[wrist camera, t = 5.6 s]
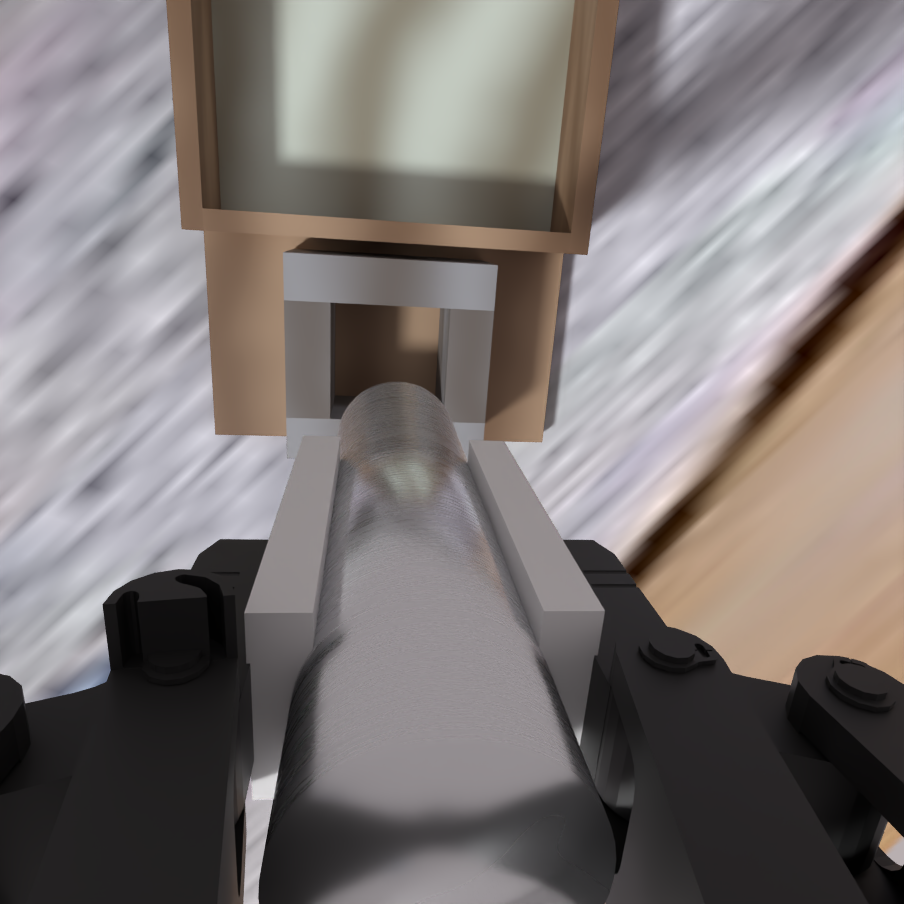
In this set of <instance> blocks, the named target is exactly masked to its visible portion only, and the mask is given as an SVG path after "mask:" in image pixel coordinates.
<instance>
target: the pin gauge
mask: <svg viewBox="0 0 904 904" xmlns="http://www.w3.org/2000/svg"><path fill="white" fill-rule="evenodd" d="M337 437H340V464H339V471H338V478H337V485H336V491H335V498H334V505H333V512H332V519H331V526H330V533H329V540H328V547H327V554H326V561H325V568H324V575H323V582H322V589H321V596H320V603H319V610H318V617H317V624H316V631H315V638H314V645H313V650H312V651H311V652H310V654H309V655H308V656H307V658H306V660H305V662H304V663H303V665H302V667H301V668H300V671H299V673H298V676H297V678H296V681H295V684H294V688H293V692H292V697H291V702H290V708H289V714H288V719H287V725H286V731H285V736H284V742H283V748H282V753H281V759H280V765H279V770H278V776H277V782H276V788H275V793H274V799H273V805H272V810H271V816H270V822H269V827H268V833H267V839H266V844H265V850H264V856H263V862H262V867H261V873H260V879H259V896H258V898H259V904H605V902H606V900H607V898H608V896H609V893H610V890H611V887H612V883H613V879H614V875H615V866H616V847H615V840H614V836H613V832H612V828H611V825H610V822H609V820H608V817H607V815H606V812H605V810H604V807H603V804H602V802H601V799H600V797H599V794H598V792H597V789H596V787H595V784H594V782H593V779H592V776H591V774H590V771H589V769H588V766H587V764H586V761H585V759H584V756H583V754H582V751H581V748H580V746H579V743H578V741H577V738H576V736H575V733H574V731H573V728H572V726H571V723H570V720H569V718H568V715H567V713H566V710H565V708H564V705H563V703H562V700H561V698H560V695H559V692H558V690H557V687H556V685H555V682H554V680H553V677H552V675H551V672H550V670H549V667H548V664H547V662H546V660H545V658H544V655H543V653H542V651H541V650H540V648H539V646H538V643H537V641H536V638H535V635H534V633H533V630H532V628H531V625H530V623H529V620H528V617H527V615H526V612H525V610H524V607H523V604H522V602H521V599H520V597H519V594H518V592H517V589H516V586H515V584H514V581H513V579H512V576H511V574H510V571H509V568H508V566H507V563H506V561H505V558H504V556H503V553H502V550H501V548H500V545H499V543H498V540H497V538H496V535H495V532H494V530H493V527H492V525H491V522H490V520H489V517H488V514H487V512H486V509H485V507H484V504H483V502H482V499H481V496H480V494H479V491H478V489H477V486H476V484H475V481H474V478H473V476H472V473H471V471H470V468H469V466H468V461H467V458H466V456H465V453H464V451H463V448H462V445H461V443H460V440H459V438H458V435H457V433H456V430H455V428H454V425H453V423H452V420H451V418H450V415H449V413H448V411H447V409H446V408H445V406H444V405H443V404H442V402H441V401H440V400H439V399H438V398H437V397H436V396H435V395H434V394H432V393H431V392H429V391H428V390H426V389H424V388H422V387H420V386H418V385H415V384H411V383H407V382H386V383H381V384H378V385H375V386H373V387H370V388H368V389H367V390H365V391H363V392H362V393H360V394H359V395H358V396H357V397H355V399H354V400H353V401H352V402H351V403H350V404H349V405H348V407H347V408H346V410H345V412H344V414H343V416H342V418H341V421H340V425H339V429H338V435H337Z"/></svg>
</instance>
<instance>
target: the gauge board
mask: <svg viewBox="0 0 904 904" xmlns="http://www.w3.org/2000/svg"><path fill="white" fill-rule="evenodd" d="M166 3H167V18H168V33H169V48H170V62H171V77H172V92H173V107H174V122H175V137H176V152H177V167H178V181H179V196H180V211H181V226H182V229H186V230H202V231H204V242H205V260H206V278H207V295H208V313H209V330H210V348H211V366H212V383H213V401H214V418H215V434H217V435H259V436H287V459H296V456H297V453H298V450H299V447H300V444H301V441H302V438H303V436H337V435H338V429H339V425H340V421H341V418H342V416H343V414H344V412H345V410H346V408H347V407H348V405H349V404H350V403H351V402H352V401H353V400H354V399H355V397H357V396H358V395H359V394H360V393H362V392H363V391H365V390H367V389H368V388H370V387H373V386H375V385H378V384H381V383H386V382H407V383H411V384H415V385H418V386H420V387H422V388H424V389H426V390H428V391H429V392H431V393H432V394H434V395H435V396H436V397H437V398H438V399H439V400H440V401H441V402H442V404H443V405H444V406H445V408H446V409H447V411H448V413H449V415H450V418H451V420H452V423H453V425H454V428H455V430H456V433H457V435H458V438H459V440H460V443H461V445H462V448H463V451H464V453H465V456H466V458H467V461H468V450H469V440H482V441H512V442H542V439H543V430H544V421H545V412H546V403H547V395H548V386H549V377H550V368H551V359H552V351H553V342H554V333H555V324H556V316H557V307H558V298H559V289H560V280H561V272H562V263H563V254H564V253H565V254H581V255H588V247H589V239H590V231H591V223H592V215H593V207H594V199H595V191H596V183H597V175H598V167H599V159H600V151H601V143H602V135H603V127H604V119H605V111H606V103H607V95H608V87H609V79H610V71H611V63H612V55H613V47H614V39H615V31H616V23H617V15H618V7H619V0H166Z"/></svg>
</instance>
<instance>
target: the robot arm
mask: <svg viewBox="0 0 904 904" xmlns="http://www.w3.org/2000/svg"><path fill="white" fill-rule="evenodd" d="M339 464H340V437H337V436H303V438H302V441H301V444H300V447H299V450H298V453H297V456H296V459H295V462H294V465H293V468H292V471H291V474H290V477H289V480H288V483H287V486H286V489H285V492H284V495H283V498H282V501H281V504H280V507H279V510H278V513H277V516H276V519H275V522H274V525H273V528H272V531H271V534H270V537H269V540H239V539H220V540H219V541H217V542H216V543H214V544H213V545H211V546H210V547H209V548H207V549H206V550H204V551H203V552H202V553H200V554H199V555H198V557H197V559H196V561H195V563H194V565H193V567H192V568H191V570H185V569H178V570H171V571H164V572H157V573H153V574H150V575H147V576H144V577H141V578H138V579H135V580H132V581H130V582H128V583H127V584H125V585H123V586H122V587H120V588H118V589H117V590H115V591H113V593H112V594H111V595H110V596H109V597H108V599H107V600H106V601H105V602H104V603H103V611H104V619H105V627H106V635H107V643H108V651H109V660H110V668H111V671H110V674H109V677H108V679H107V682H105V683H103V684H100V685H98V686H96V687H93V688H90V689H86V690H83V691H79V692H75V693H72V694H67V695H62V696H58V697H53V698H49V699H44V700H40V701H35V702H31V703H26V704H25V701H24V695H23V690H22V686H21V685H20V684H19V683H18V682H16V681H15V680H14V679H13V678H11V677H10V676H7V675H2V674H0V904H243V896H244V875H245V853H246V813H245V799H246V795H247V790H248V786H249V781H250V777H251V781H252V800H269V799H274V793H275V788H276V782H277V776H278V770H279V765H280V759H281V753H282V748H283V742H284V736H285V731H286V725H287V719H288V714H289V708H290V702H291V697H292V692H293V688H294V684H295V681H296V678H297V676H298V673H299V671H300V668H301V667H302V665H303V663H304V662H305V660H306V658H307V656H308V655H309V654H310V652H311V651H312V650H313V645H314V638H315V631H316V624H317V617H318V610H319V603H320V596H321V589H322V582H323V575H324V568H325V561H326V554H327V547H328V540H329V533H330V526H331V519H332V512H333V505H334V498H335V491H336V485H337V478H338V471H339ZM468 466H469V468H470V471H471V473H472V476H473V478H474V481H475V484H476V486H477V489H478V491H479V494H480V496H481V499H482V502H483V504H484V507H485V509H486V512H487V514H488V517H489V520H490V522H491V525H492V527H493V530H494V532H495V535H496V538H497V540H498V543H499V545H500V548H501V550H502V553H503V556H504V558H505V561H506V563H507V566H508V568H509V571H510V574H511V576H512V579H513V581H514V584H515V586H516V589H517V592H518V594H519V597H520V599H521V602H522V604H523V607H524V610H525V612H526V615H527V617H528V620H529V623H530V625H531V628H532V630H533V633H534V635H535V638H536V641H537V643H538V646H539V648H540V650H541V651H542V653H543V655H544V658H545V660H546V662H547V664H548V667H549V670H550V672H551V675H552V677H553V680H554V682H555V685H556V687H557V690H558V692H559V695H560V698H561V700H562V703H563V705H564V708H565V710H566V713H567V715H568V718H569V720H570V723H571V726H572V728H573V731H574V733H575V736H576V738H577V741H578V743H579V746H580V748H581V751H582V754H583V756H584V759H585V761H586V764H587V766H588V769H589V771H590V774H591V776H592V779H593V782H594V784H595V787H596V789H597V792H598V794H599V797H600V799H601V802H602V804H603V807H604V810H605V812H606V815H607V817H608V820H609V822H610V825H611V828H612V832H613V836H614V840H615V847H616V866H615V875H614V879H613V883H612V887H611V890H610V893H609V896H608V898H607V900H606V904H904V865H903V866H900V865H898V864H896V863H895V862H894V861H892V860H891V859H890V858H889V857H888V856H887V855H886V854H885V853H884V852H883V851H882V850H881V849H880V848H879V844H880V841H881V838H882V836H883V833H884V830H885V828H886V825H887V822H889V823H890V824H891V825H892V826H893V827H894V828H895V829H896V830H897V831H898V832H899V833H900V834H901V835H902V836H903V837H904V684H902V683H901V682H899V681H897V680H896V679H894V678H893V677H891V676H889V675H888V674H886V673H885V672H883V671H880V670H878V669H876V668H873V667H871V666H869V665H867V664H866V663H864V662H861V661H858V660H855V659H849V658H846V657H840V656H823V655H816V656H812V657H809V658H805V659H802V661H801V662H800V663H799V665H798V666H797V667H796V669H795V673H794V676H793V680H792V683H791V685H787V684H781V683H776V682H771V681H766V680H761V679H756V678H751V677H745V676H742V675H738V674H734V673H732V672H731V671H730V669H729V667H728V666H727V664H726V662H725V661H724V659H723V658H722V657H721V656H720V655H719V654H718V652H717V651H716V650H715V649H714V648H713V647H712V646H711V645H709V644H707V643H706V642H704V641H703V640H701V639H700V638H698V637H697V636H695V635H692V634H689V633H687V632H684V631H681V630H679V629H676V628H671V627H667V626H666V625H665V623H664V622H663V620H662V619H661V618H660V616H659V615H658V614H657V612H656V611H655V609H654V608H653V607H652V605H651V604H650V603H649V601H648V600H647V598H646V597H645V596H644V594H643V593H642V591H641V590H640V589H639V588H636V583H635V582H634V580H633V579H632V578H631V576H630V575H629V574H626V569H625V568H624V567H623V565H622V564H621V563H620V561H619V560H618V558H617V557H616V556H615V554H613V553H612V552H610V551H609V550H607V549H606V548H604V547H603V546H601V545H600V544H598V543H597V542H595V541H594V540H563V539H562V538H561V536H560V534H559V533H558V531H557V529H556V528H555V526H554V524H553V523H552V521H551V519H550V518H549V516H548V514H547V513H546V511H545V509H544V508H543V506H542V504H541V502H540V501H539V499H538V497H537V496H536V494H535V492H534V491H533V489H532V487H531V486H530V484H529V482H528V481H527V479H526V477H525V476H524V474H523V472H522V471H521V469H520V467H519V465H518V464H517V462H516V460H515V459H514V457H513V455H512V454H511V452H510V450H509V449H508V447H507V445H506V444H505V442H504V441H482V440H469V450H468Z"/></svg>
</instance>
